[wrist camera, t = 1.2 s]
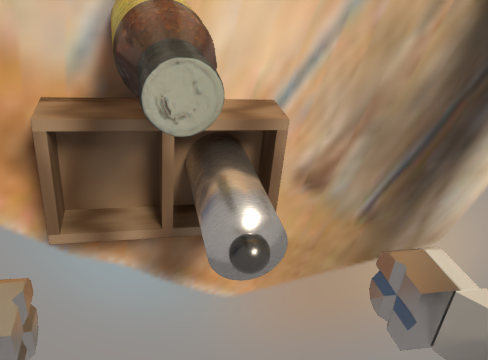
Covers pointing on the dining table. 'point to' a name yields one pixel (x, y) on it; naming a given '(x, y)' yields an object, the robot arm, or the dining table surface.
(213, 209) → the pepper mill
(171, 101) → the sauce bottle
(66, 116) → the condiment caddy
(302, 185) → the dining table surface
